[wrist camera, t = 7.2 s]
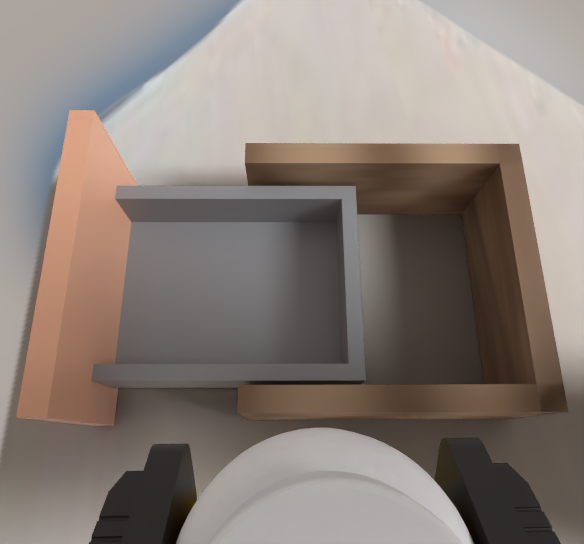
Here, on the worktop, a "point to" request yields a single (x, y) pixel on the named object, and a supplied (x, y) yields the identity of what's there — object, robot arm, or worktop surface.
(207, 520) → the supplement bottle
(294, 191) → the drawer
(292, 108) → the worktop surface
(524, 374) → the caddy
